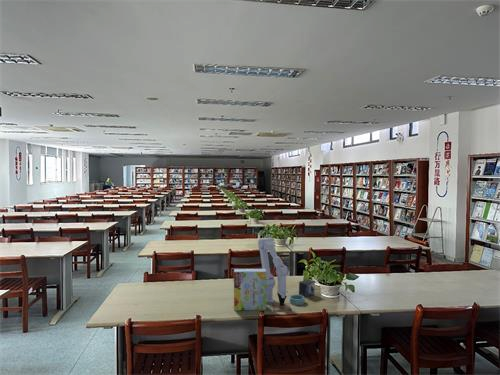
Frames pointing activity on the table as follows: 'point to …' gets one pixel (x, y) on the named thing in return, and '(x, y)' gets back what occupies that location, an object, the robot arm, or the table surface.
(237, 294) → the snack box
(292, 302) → the bowl
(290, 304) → the mat
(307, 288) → the small box
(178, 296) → the table surface
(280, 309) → the cover
